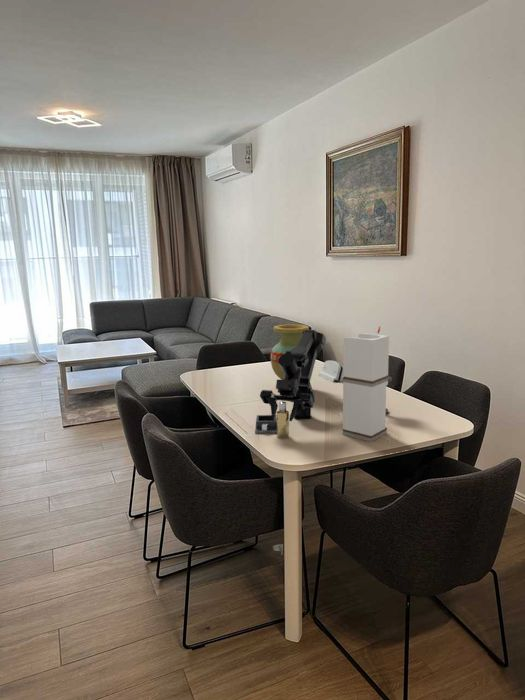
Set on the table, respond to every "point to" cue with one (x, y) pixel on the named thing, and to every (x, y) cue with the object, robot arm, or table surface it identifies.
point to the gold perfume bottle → (282, 421)
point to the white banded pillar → (365, 386)
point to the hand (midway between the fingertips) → (281, 419)
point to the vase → (285, 344)
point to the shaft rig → (266, 424)
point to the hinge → (332, 371)
